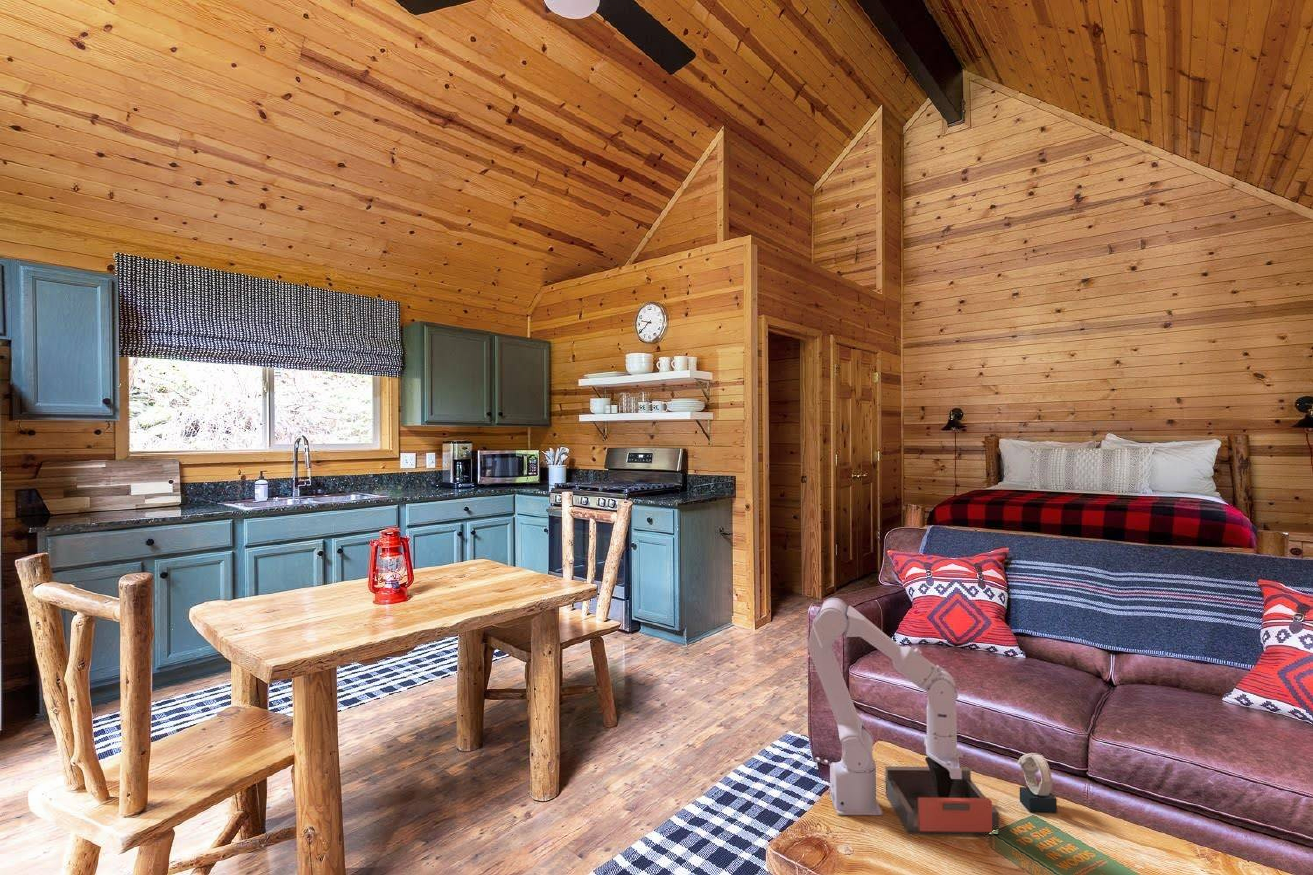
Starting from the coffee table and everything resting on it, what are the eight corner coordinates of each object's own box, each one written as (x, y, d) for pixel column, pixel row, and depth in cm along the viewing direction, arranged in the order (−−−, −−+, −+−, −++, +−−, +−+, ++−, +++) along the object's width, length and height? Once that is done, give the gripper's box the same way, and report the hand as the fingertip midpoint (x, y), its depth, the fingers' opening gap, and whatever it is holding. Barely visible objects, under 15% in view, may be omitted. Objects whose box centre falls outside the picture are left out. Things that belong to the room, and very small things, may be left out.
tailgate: (921, 832, 128) (920, 802, 128) (918, 827, 130) (917, 797, 130) (993, 833, 128) (992, 802, 128) (989, 828, 129) (988, 797, 129)
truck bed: (907, 833, 130) (907, 801, 130) (885, 795, 144) (885, 766, 144) (998, 834, 129) (998, 802, 130) (967, 796, 144) (967, 766, 144)
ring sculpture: (1041, 796, 143) (1040, 747, 143) (1061, 818, 135) (1060, 765, 135) (1014, 796, 143) (1014, 746, 143) (1033, 817, 135) (1032, 764, 135)
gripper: (976, 747, 128) (978, 816, 128) (946, 715, 142) (947, 777, 142) (940, 747, 128) (941, 815, 128) (914, 715, 142) (915, 777, 142)
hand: (942, 795), depth 135 cm, fingers closed
